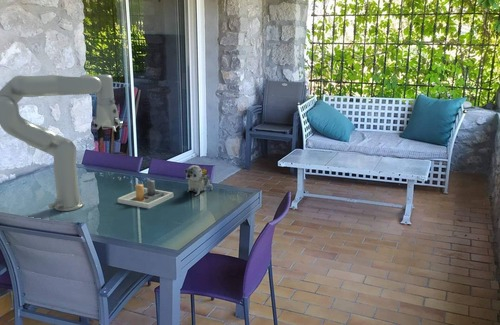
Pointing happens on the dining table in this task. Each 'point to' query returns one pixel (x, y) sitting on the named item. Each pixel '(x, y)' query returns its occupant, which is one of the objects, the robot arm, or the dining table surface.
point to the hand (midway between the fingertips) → (109, 138)
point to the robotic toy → (197, 179)
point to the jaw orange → (139, 192)
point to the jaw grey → (151, 188)
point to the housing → (149, 201)
